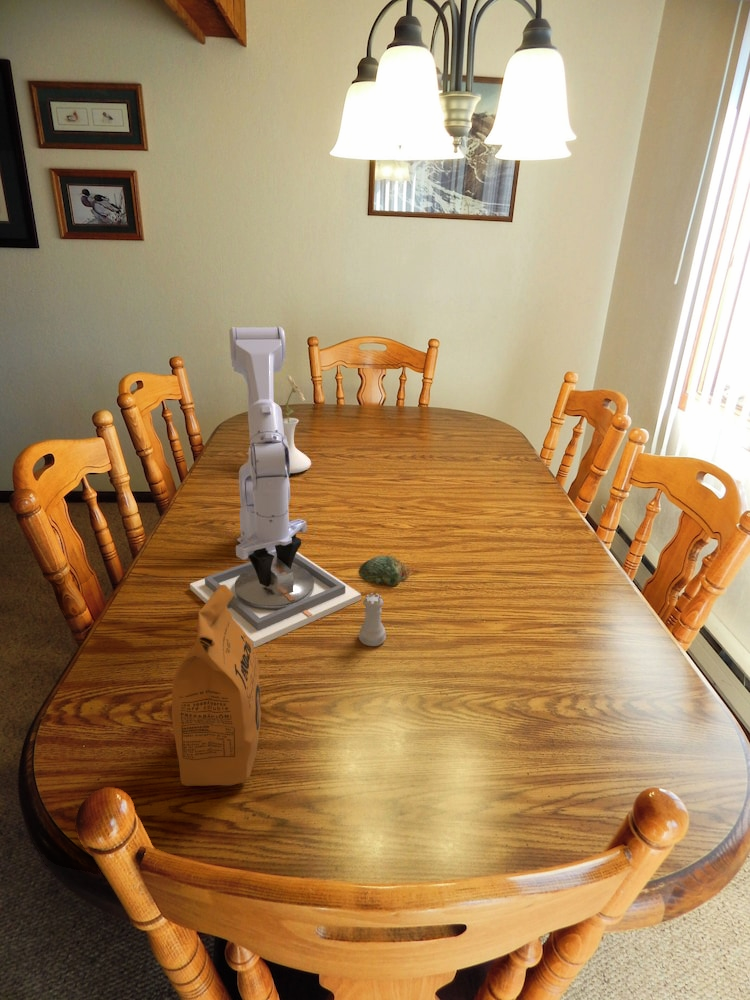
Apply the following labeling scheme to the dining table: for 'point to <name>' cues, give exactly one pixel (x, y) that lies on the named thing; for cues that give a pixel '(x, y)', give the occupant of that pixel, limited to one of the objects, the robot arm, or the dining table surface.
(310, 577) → the dial
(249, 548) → the robot arm
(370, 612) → the rook chess piece
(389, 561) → the seashell
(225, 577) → the dial panel
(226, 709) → the coffee package
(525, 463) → the dining table surface
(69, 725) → the dining table surface
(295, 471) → the flower in vase
